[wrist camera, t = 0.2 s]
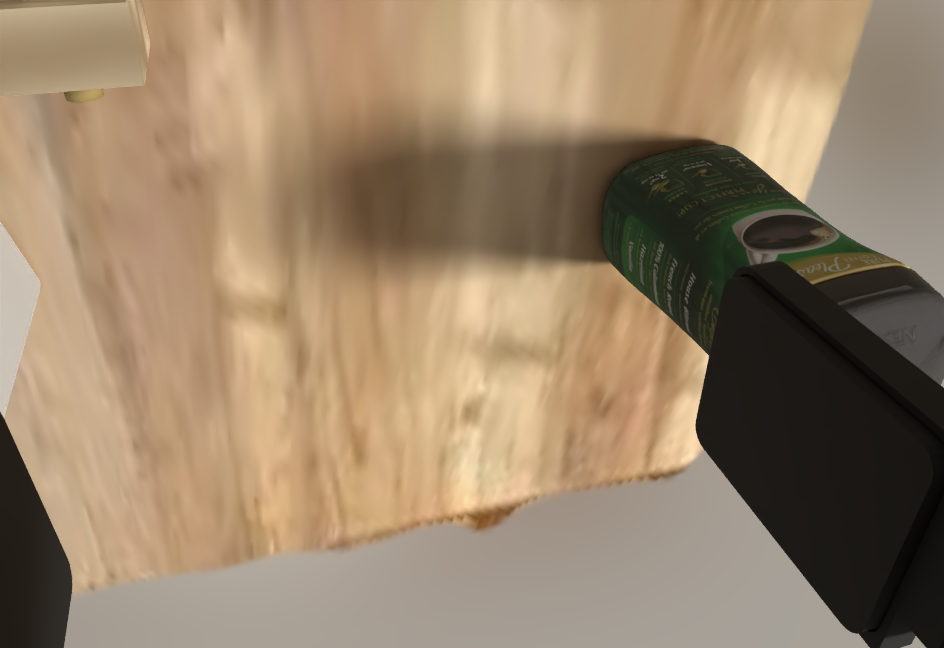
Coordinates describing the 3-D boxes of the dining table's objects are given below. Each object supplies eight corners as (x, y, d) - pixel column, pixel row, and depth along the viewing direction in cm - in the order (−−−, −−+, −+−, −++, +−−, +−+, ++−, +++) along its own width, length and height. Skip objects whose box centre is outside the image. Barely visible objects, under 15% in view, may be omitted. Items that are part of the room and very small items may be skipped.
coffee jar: (593, 275, 49) (765, 486, 35) (597, 158, 44) (797, 345, 30) (730, 244, 51) (947, 431, 36) (748, 128, 46) (1005, 291, 32)
